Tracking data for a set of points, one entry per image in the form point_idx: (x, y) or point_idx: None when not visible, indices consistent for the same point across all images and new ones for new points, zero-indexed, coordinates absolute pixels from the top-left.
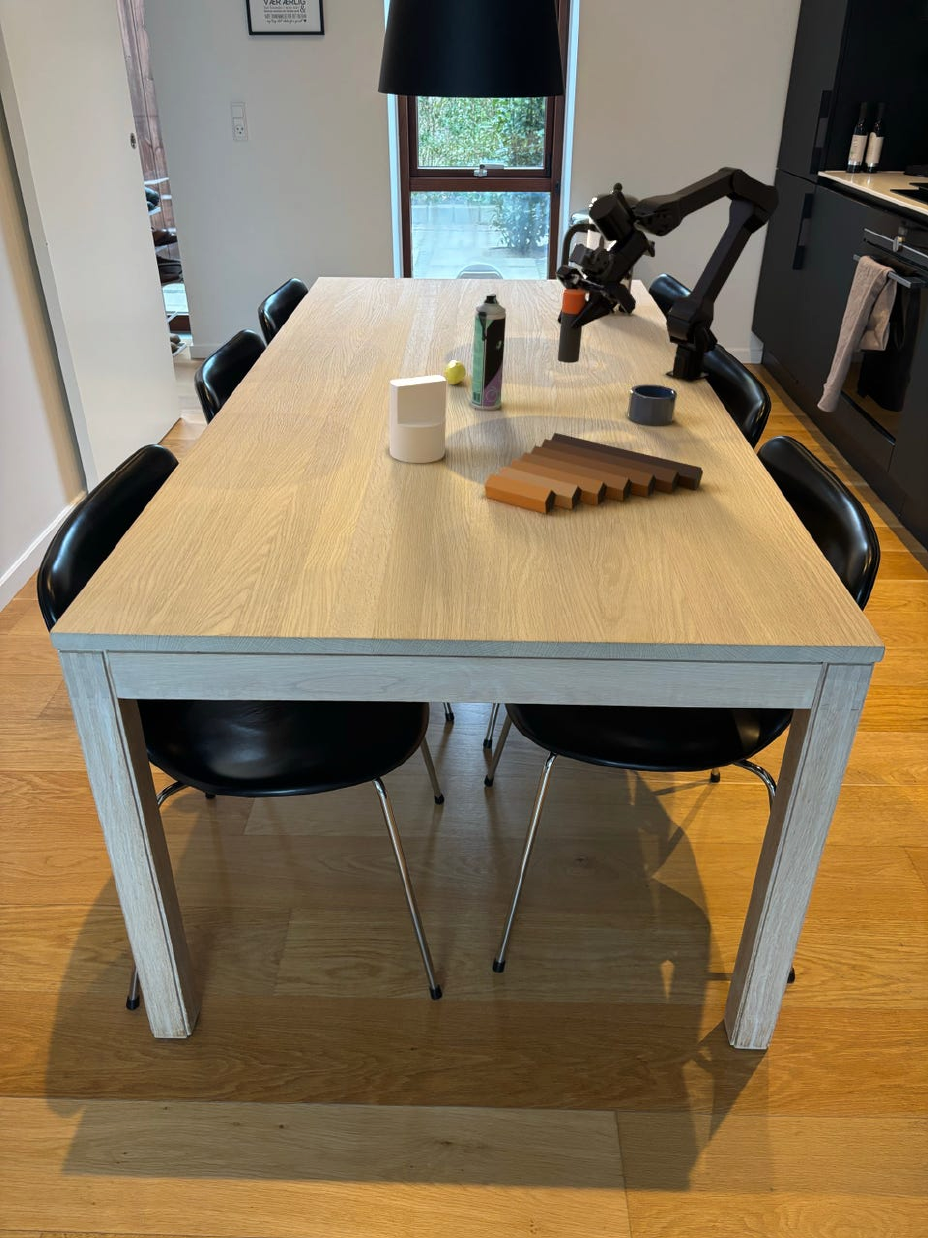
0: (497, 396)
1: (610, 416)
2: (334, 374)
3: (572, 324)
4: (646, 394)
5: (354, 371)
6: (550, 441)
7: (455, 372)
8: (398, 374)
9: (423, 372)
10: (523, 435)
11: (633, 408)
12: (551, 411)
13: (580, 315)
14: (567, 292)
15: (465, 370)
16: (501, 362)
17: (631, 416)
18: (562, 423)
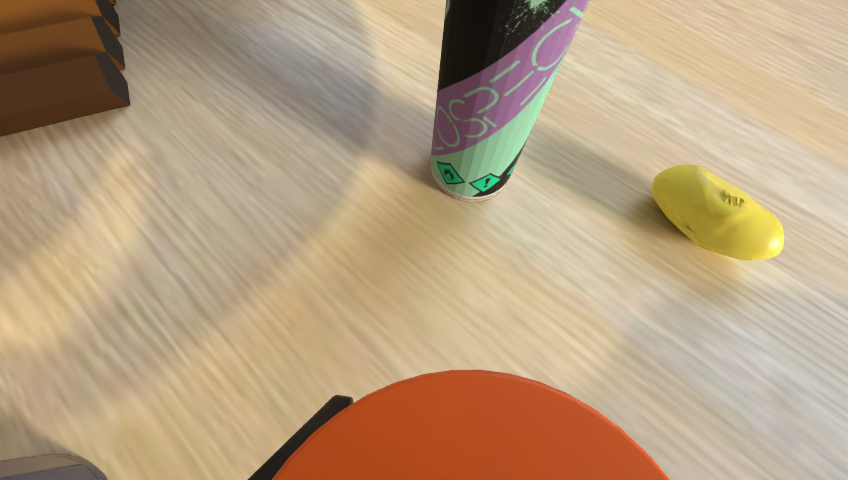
0: (433, 150)
1: (159, 420)
2: (821, 34)
3: (332, 400)
4: None
5: (838, 75)
6: (74, 20)
7: (672, 175)
8: (792, 139)
9: (797, 200)
10: (249, 109)
11: (31, 460)
12: (326, 282)
13: (259, 470)
14: (497, 427)
15: (700, 229)
16: (443, 84)
17: (66, 458)
18: (235, 239)
